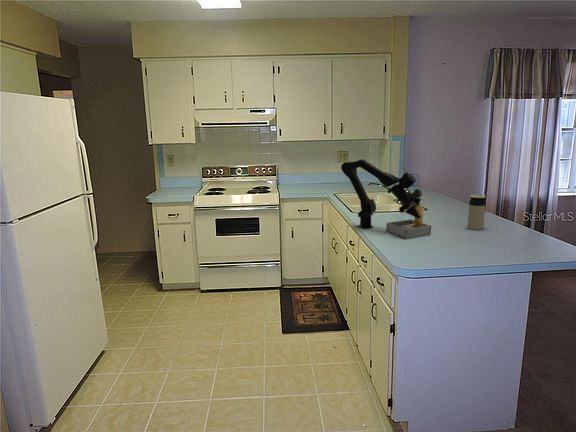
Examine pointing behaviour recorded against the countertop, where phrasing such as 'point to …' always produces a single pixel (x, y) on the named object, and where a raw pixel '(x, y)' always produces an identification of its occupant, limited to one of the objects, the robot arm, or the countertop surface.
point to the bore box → (408, 229)
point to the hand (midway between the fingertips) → (421, 217)
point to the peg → (420, 211)
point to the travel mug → (476, 212)
